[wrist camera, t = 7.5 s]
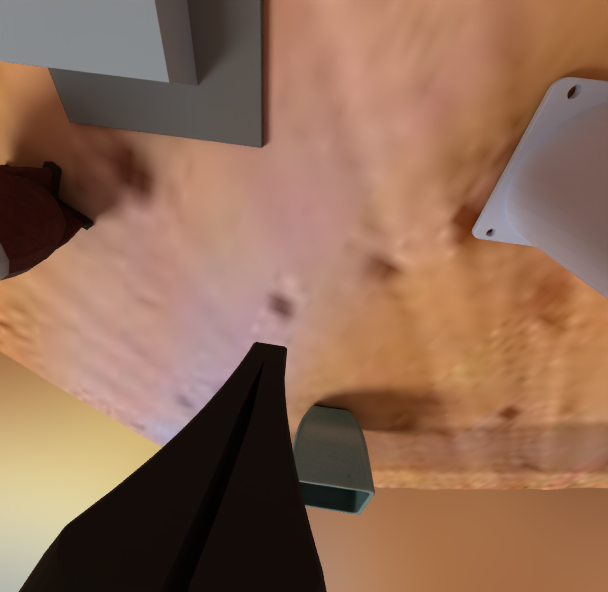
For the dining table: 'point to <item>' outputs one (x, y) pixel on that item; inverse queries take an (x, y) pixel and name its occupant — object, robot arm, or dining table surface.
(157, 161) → the dining table surface
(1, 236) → the mate gourd
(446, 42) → the dining table surface
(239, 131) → the mat
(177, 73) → the slab
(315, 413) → the flower pot
